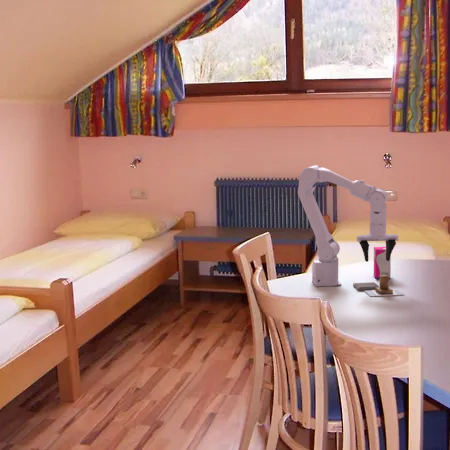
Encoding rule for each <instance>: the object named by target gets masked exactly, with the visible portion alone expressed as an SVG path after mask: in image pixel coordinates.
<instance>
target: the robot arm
mask: <svg viewBox="0 0 450 450" xmlns="http://www.w3.org/2000/svg"><path fill="white" fill-rule="evenodd" d="M325 182H329V183H332V184H334V185H337V186H339V187H341V188H344V189H346V190H348V191H349V193H350V195H351V196H353V197H356V198H358V199H360V200H362V201H365V202H368V203H369V206H370V208H369V234H361V235H356V242H358V243H359V245H360V247H361V250H362V253H363V256H364V261H365V262H367V263H369V248H370V244H369V242H382V241H383V242H385V247H386V260H387V261H389V260H390V256H391V255H392V252H393V250H394V248H395V246H396V245H397V242H398V241H399V235H398V234H389V233H388V234H387V201H388V198H389V196H388V193H387V192H386V190H384V189H383V188H377V186H372V185H370V184H368V183H366V182H365V180H363V179H360V180H358V179H357V180H354V181H352V180H350V179H349V178H347V177H345V176H343V175H341V174H338V172H337V173H336V172H334V171H333V170H331V169H328V168H327V167H321V166H319V165H317V164H315V165H311V166H308V167H307V166H306V167H305V168H304V169H302V171H301V173H300V175H299V177H298V187H297V195H298V199H299V200H300V202H301V205H302V208H303V209H304V212H305V215H306V217H307V219H308V220H307V221H309V224H310V225H309V226H310V227H311V228H312V232H313V233H314V236H315V246H316V248H317V250H316V252H317V256H318V259H316V260H313V261H312V265H311V266H312V269H311V275H312V277H311V278H312V279H311V281H312V283H313V284H314V286H315V287H332V286H342V283H341V282H340V281H339V257H338V254H339V253H340V250H341V248H340V244H339V243H338V242H337V241H336V240H335V239H334V236H333V235H332V234H331V233H330V232H329V229H328V227H327V225H326V222H325V219H324V217H323V215H322V212H321V209H320V207H319V205H318V202H317V201H316V198H315V195H314V191H315V189H316V187H317V186H318V184H319V183H325Z"/></svg>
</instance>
